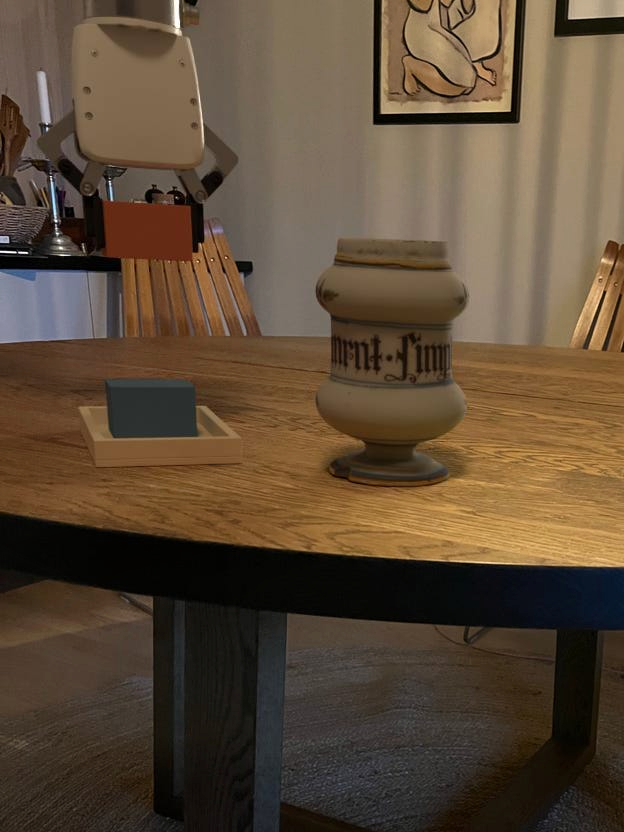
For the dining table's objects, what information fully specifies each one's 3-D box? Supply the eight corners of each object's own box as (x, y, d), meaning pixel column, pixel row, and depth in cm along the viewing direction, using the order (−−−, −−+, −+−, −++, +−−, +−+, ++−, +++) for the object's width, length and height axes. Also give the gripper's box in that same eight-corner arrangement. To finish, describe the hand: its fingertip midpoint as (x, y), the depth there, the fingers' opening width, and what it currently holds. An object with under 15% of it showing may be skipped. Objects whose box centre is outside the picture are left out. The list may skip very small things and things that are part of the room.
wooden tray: (79, 429, 94) (77, 406, 94) (206, 427, 99) (205, 405, 98) (95, 467, 80) (93, 440, 80) (242, 463, 85) (241, 437, 84)
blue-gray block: (113, 439, 88) (110, 386, 87) (108, 429, 92) (104, 379, 90) (197, 437, 91) (195, 386, 89) (188, 428, 95) (186, 379, 93)
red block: (107, 257, 86) (103, 200, 84) (101, 255, 90) (97, 200, 88) (192, 261, 89) (190, 206, 87) (183, 259, 93) (181, 206, 91)
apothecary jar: (284, 468, 84) (281, 231, 77) (390, 452, 92) (396, 238, 86) (388, 497, 77) (395, 238, 70) (492, 477, 85) (507, 245, 79)
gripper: (231, 35, 89) (237, 253, 96) (12, 5, 82) (35, 243, 89) (251, 21, 83) (256, 256, 90) (16, -12, 76) (40, 246, 82)
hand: (146, 248), depth 89 cm, fingers closed on red block, 7 cm apart
